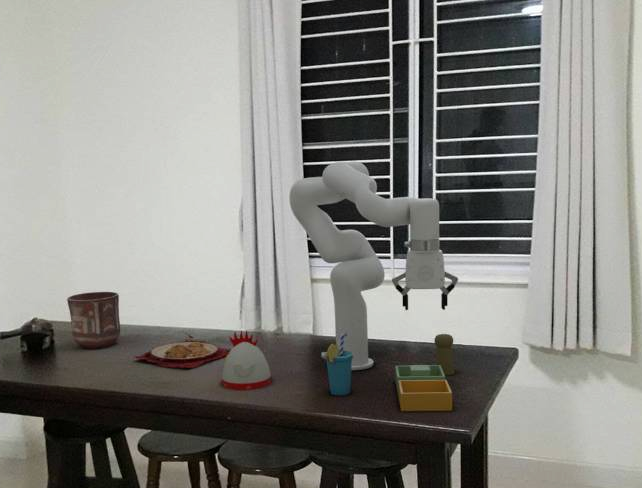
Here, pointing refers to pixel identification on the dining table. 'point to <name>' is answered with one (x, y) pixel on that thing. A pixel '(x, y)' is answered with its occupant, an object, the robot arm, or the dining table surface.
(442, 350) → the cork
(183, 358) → the plate with food
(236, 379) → the kitchen timer
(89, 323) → the pottery
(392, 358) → the dining table surface
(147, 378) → the dining table surface
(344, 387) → the cup
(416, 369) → the green block
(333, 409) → the dining table surface
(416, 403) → the ochre bin
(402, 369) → the green bin
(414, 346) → the dining table surface
